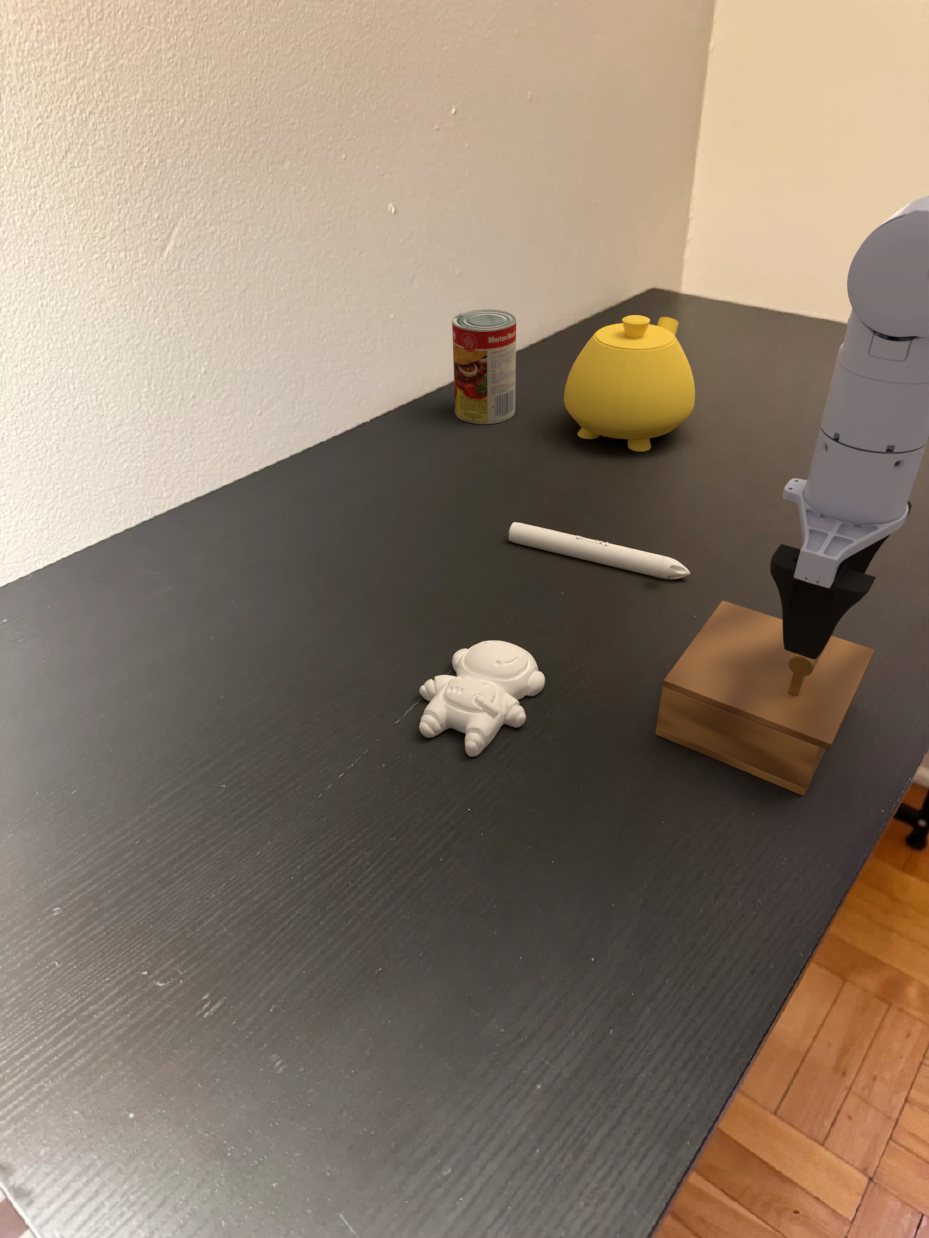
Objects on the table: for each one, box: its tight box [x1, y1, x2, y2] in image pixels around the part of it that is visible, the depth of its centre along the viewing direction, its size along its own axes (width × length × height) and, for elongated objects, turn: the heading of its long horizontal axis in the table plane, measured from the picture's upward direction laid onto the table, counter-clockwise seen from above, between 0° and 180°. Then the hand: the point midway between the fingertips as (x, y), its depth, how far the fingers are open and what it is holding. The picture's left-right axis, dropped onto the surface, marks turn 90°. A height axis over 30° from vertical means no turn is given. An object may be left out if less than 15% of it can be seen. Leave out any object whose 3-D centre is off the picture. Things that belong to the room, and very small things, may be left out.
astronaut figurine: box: [418, 639, 546, 758], centre depth 65 cm, size 9×12×3 cm
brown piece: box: [662, 600, 876, 751], centre depth 59 cm, size 12×11×4 cm
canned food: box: [451, 308, 517, 425], centre depth 106 cm, size 8×8×12 cm
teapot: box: [563, 314, 696, 452], centre depth 102 cm, size 20×16×14 cm
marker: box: [508, 521, 691, 580], centre depth 81 cm, size 18×2×2 cm, turn 63°
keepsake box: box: [654, 686, 827, 797], centre depth 62 cm, size 11×11×5 cm
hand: (818, 621), depth 56 cm, fingers open, 7 cm apart
